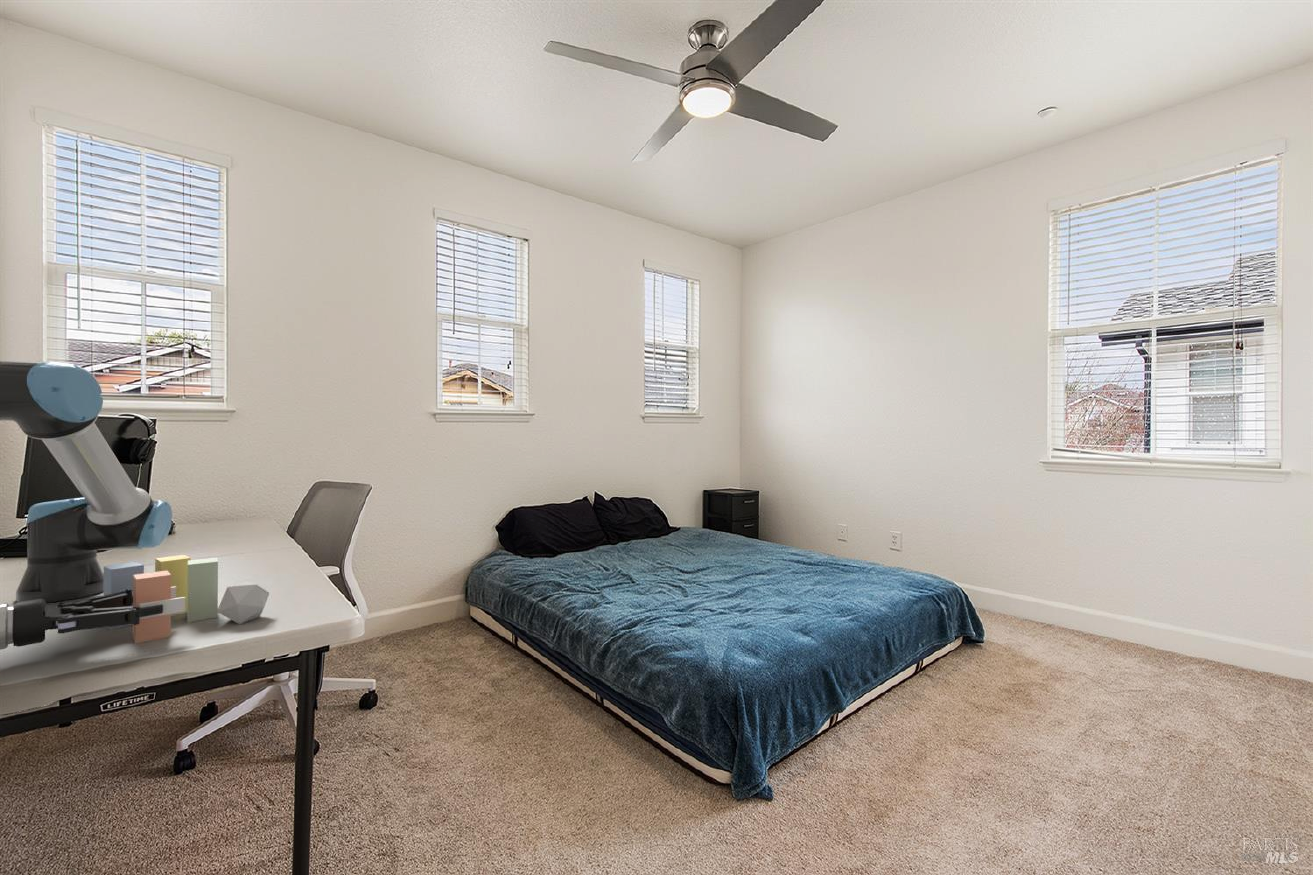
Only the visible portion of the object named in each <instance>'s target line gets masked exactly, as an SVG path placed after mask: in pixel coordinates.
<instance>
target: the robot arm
mask: <svg viewBox="0 0 1313 875" xmlns="http://www.w3.org/2000/svg"><path fill="white" fill-rule="evenodd" d="M102 394H103V391H102V387H101V386H100V383H99V382H98V380H97V379H96V377H95V376H94V375H93V374H92V373H91V372H90V371H88V370H87V369H85V368H83V367H82V366H79V365H76V364H72V363H71V364H70V363H61V362H56V361H44V362H31V361H9V360H8V361H3V360H2V361H1V360H0V421H11V422H15V423H16V424H17V425H18V427H19V428H20V429H21V431H22V432H23V433H24V435H26V436H27V437H29V438H32V439H36V440H41V441H42V443H43V444H44V445H45V446H46V447H47V449H48V450H49V452H50V454H51V455H52V456H53V457H54V459H55V460H56V462H57V463H58V464H59V465H60V467H61V468H62V470H63V471H64V473H65V474H66V475H67V477H68V478H69V479H70V481H71V482H72V484H74V486H75V488H76V489H77V490H78V492H79V493H80V494H81V496H82V497H74V498H67V499H60V500H59V499H58V500H53V501H45V502H40V503H35V504H33V505H31V506H30V507H29V509H28V512H27V513H28V514H27V518H26V519H27V520H26V522H25V523H26V524H25V525H27V527H26V528H27V537H26V540H27V541H26V542H27V543H26V544H27V550H26V551H27V556H26V557H27V566H26V569H25V572H24V573H23V576H22V578H21V579H20V582H19V585H18V586H17V589H16V592H15V601H16V603H14V605H11V606H10V604H8V603H0V650H5V649H7V648H8V647H9V645H12V644H13V647H17V648H19V647H26V646H29V645H35V644H39V643H40V644H41V643H43V642H45V640H46V631H49V630H50V631H51V630H57V634H66V633H71V632H78V631H83V630H85V631H86V630H92V629H93V630H94V629H101V628H108V627H110V626H119V625H127V624H133V625H137V624H139V622H140V619H145V618H150V617H156V616H162V615H168V614H174V613H179V612H185V597H180V598H176V586H174V587H171V599H167V600H161V601H154V602H148V603H142V604H139V606H131V605H132V603H133V595H132V589H126V592H125V591H122V592H119V593H113V594H108V595H104V594H103V595H98V596H93V595H96V594H99V593H102V592H104V570H102V567H101V565H100V564H99V561H98V551H103V550H104V551H105V550H106V551H108V550H110V551H111V550H113V551H114V550H143V549H150V548H151V549H152V548H156V547H158V546H160V545H162V543H164V541H165V540H166V538H167V537H168V535H169V532H170V530H171V526H172V522H173V511H172V510H173V509H172V506H171V504H170V503H169V502H167V501H165V500H153V499H152V497H151V495H150V494H149V493H148V492H147V491H146V490H145V489H143V488H141V487H136V486H135V485H134V483H133V482H132V480H131V479H130V477H129V475H128V474H127V472H126V471H125V469H124V468H123V465H122V464H121V463H120V461H119V460H118V458H117V456H116V455H115V454H114V453H115V452H113V450H112V448H111V447H110V445H109V444H108V442H107V440H106V439H105V437H104V436H103V434H102V432H101V431H100V429H99V428H98V426H97V424H96V423H95V422H96V421H97V419H98V417H99V414H100V413H101V410H102V409H103V405H104V404H103V403H104V397H102ZM88 596H93V597H88ZM84 597H88V598H84ZM79 598H81V599H79ZM82 598H83V599H82ZM73 599H78V600H73ZM68 600H70V601H68ZM60 601H61V602H60ZM54 602H58V603H56V607H54V608H50V609H46V603H54ZM128 606H129V607H128ZM133 625H132V626H133Z"/></svg>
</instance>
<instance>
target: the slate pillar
mask: <svg viewBox="0 0 1313 875" xmlns="http://www.w3.org/2000/svg"><path fill="white" fill-rule="evenodd" d="M103 573H104V591H103V595H108V594H113V593H119V592H122V591H125V592H126V589H132V595H133V575H136V574H144V573H145V565H144V564H142V563H140V562H137V561H131V562H125V563H117V564H112V565H111V564H109V565H104V566H103ZM131 606H133V603H132V605H131ZM128 607H129V606H128ZM128 626H133V624H127V625H119V626H110V627H107V628H109V629H111V630H113V629H118V628H123V627H124V628H125V627H128Z"/></svg>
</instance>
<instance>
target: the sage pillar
mask: <svg viewBox="0 0 1313 875" xmlns="http://www.w3.org/2000/svg"><path fill="white" fill-rule="evenodd" d="M218 592H219V560H218V557H210V558H200V559H198V558H197V559H191V560H188V613H186V614H187V616H186V617H187V618H186V619H187V623H188V622H189V623H190V622H196V621H202V620H210V619H214V618H215V619H217V618H218V615H219V613H218V612H217V610H218V607H219V606H218V603H219V602H218V601H219V598H218V597H219V595H218Z"/></svg>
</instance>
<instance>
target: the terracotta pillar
mask: <svg viewBox="0 0 1313 875" xmlns="http://www.w3.org/2000/svg"><path fill="white" fill-rule="evenodd" d="M167 599H171V574H170V573H169V572H168V571H159V572H155V571H153V572H146V573H145V572H144V574H136V575H133V606H139V604H142V603H148V602H154V601H161V600H167ZM171 617H172V616H171V614H168V615H162V616H156V617H150V618H145V619H140V622H139V624H137V625H132V638H133V640H134V642H135V644H138V643H139V644H140V643H144V642H149V641H153V640H159V639H166V638H169V637H171V633H172V632H171V630H172V628H171V627H172V626H171V624H172V623H171V622H172V621H171V620H172V618H171Z"/></svg>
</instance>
